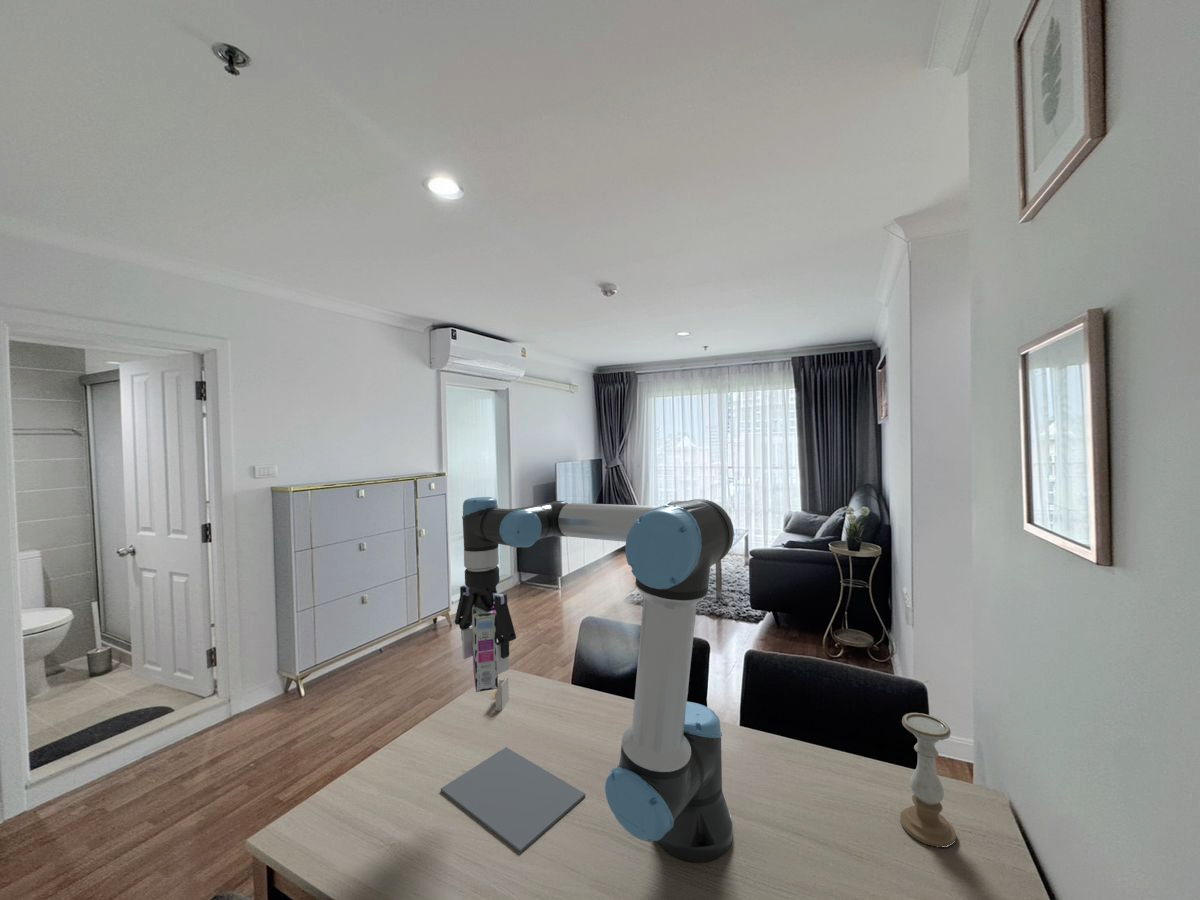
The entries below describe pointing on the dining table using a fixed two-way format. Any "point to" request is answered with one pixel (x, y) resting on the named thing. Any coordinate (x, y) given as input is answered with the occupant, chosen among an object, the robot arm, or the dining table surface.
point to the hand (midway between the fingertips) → (485, 663)
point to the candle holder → (927, 784)
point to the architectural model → (501, 694)
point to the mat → (513, 797)
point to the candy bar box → (484, 649)
